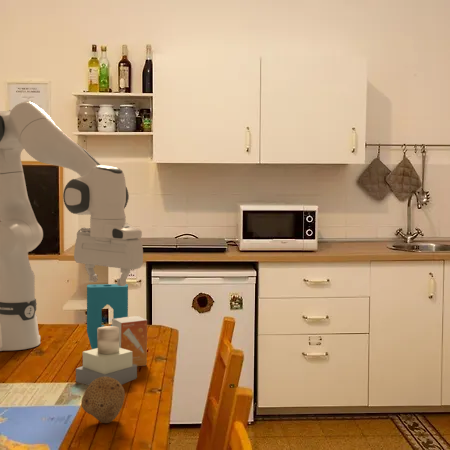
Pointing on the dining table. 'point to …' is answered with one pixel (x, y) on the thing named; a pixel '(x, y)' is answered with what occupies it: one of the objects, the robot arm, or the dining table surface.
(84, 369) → the tower base
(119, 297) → the block
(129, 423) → the dining table surface
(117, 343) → the beige rounded cylinder
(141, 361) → the small box
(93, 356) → the tower top
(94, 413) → the natural sponge
